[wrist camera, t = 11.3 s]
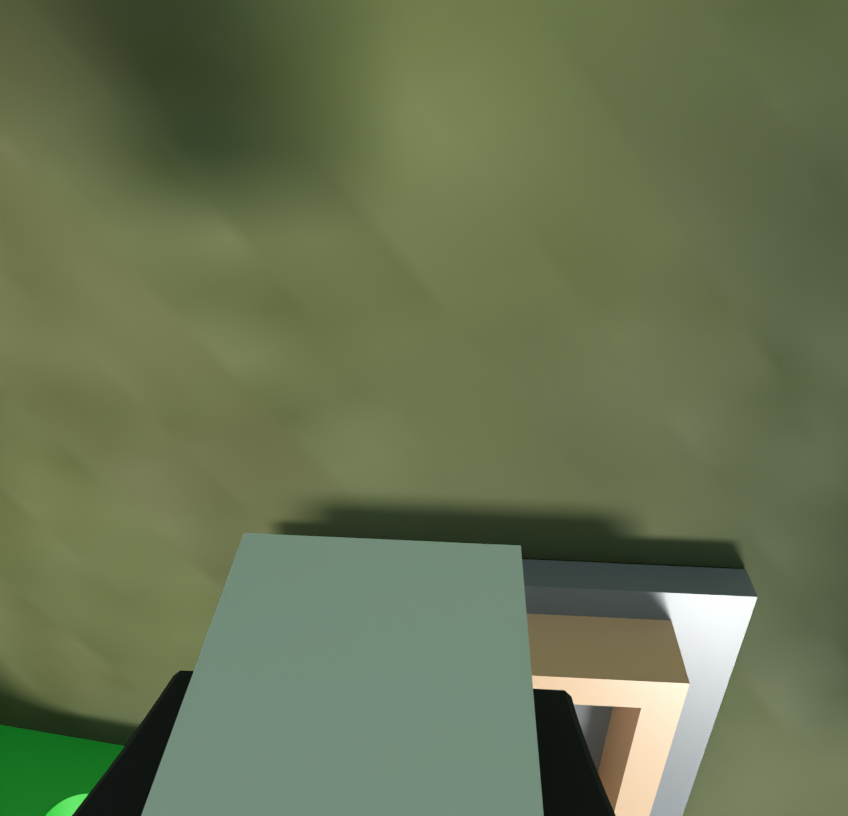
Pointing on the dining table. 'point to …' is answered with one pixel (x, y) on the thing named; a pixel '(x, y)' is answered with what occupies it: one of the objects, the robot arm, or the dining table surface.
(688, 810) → the dining table surface
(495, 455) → the dining table surface
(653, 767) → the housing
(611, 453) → the dining table surface
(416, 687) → the sage block
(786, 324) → the dining table surface
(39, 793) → the mechanical part
